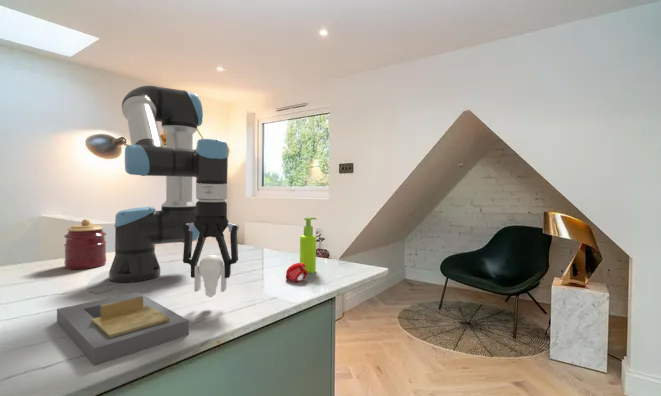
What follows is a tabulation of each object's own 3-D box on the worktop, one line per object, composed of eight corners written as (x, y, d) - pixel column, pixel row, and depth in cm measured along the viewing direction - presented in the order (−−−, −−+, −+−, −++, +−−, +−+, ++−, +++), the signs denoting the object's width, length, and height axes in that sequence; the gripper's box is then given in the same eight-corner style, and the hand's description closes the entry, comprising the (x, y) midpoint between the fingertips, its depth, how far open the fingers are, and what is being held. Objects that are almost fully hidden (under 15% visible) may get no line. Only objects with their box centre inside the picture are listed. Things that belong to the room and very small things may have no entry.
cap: (313, 270, 116) (302, 259, 119) (305, 268, 111) (294, 256, 114) (298, 288, 116) (287, 276, 119) (290, 287, 111) (279, 274, 114)
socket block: (57, 322, 77) (56, 308, 77) (138, 303, 90) (138, 292, 90) (94, 365, 60) (94, 348, 59) (188, 334, 72) (188, 320, 72)
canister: (78, 262, 135) (77, 217, 135) (113, 261, 137) (112, 217, 136) (55, 270, 123) (55, 221, 122) (94, 269, 124) (94, 221, 123)
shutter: (91, 321, 70) (91, 306, 70) (148, 308, 79) (148, 294, 79) (109, 338, 63) (109, 321, 63) (169, 321, 72) (169, 306, 71)
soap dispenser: (320, 270, 130) (321, 217, 129) (309, 273, 124) (310, 218, 123) (307, 267, 133) (308, 216, 132) (296, 271, 127) (297, 217, 126)
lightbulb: (201, 293, 91) (202, 252, 91) (225, 293, 92) (226, 252, 91) (194, 301, 85) (195, 257, 85) (219, 301, 86) (221, 258, 85)
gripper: (167, 200, 83) (167, 294, 84) (246, 202, 84) (245, 294, 85) (179, 198, 90) (178, 285, 92) (251, 200, 92) (250, 285, 93)
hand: (210, 289), depth 88 cm, fingers closed on lightbulb, 6 cm apart
